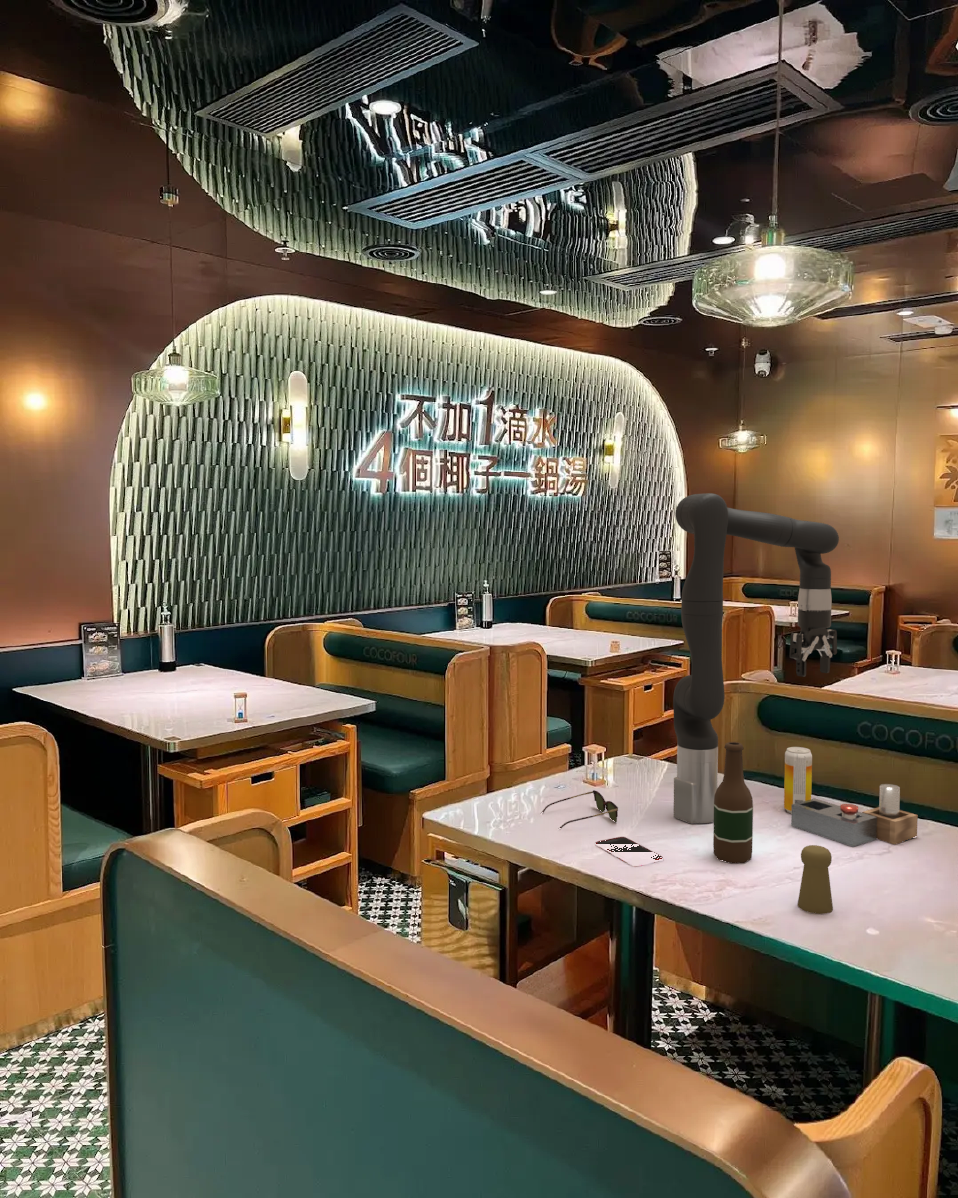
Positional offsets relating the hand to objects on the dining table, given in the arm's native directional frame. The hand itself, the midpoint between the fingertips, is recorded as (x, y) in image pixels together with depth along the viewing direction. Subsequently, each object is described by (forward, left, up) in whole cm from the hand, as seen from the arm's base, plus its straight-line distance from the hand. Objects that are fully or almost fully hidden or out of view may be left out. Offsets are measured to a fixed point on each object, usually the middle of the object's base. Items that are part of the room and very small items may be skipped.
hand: (813, 674), depth 220 cm
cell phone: (-58, 0, -33) cm, 66 cm away
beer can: (-7, -2, -32) cm, 33 cm away
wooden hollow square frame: (-4, -24, -32) cm, 40 cm away
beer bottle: (-42, -14, -32) cm, 55 cm away
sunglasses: (-54, +23, -33) cm, 67 cm away
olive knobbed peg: (-48, -39, -32) cm, 70 cm away
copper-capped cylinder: (-13, -20, -31) cm, 39 cm away
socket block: (-12, -16, -32) cm, 38 cm away
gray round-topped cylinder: (-4, -24, -32) cm, 40 cm away
